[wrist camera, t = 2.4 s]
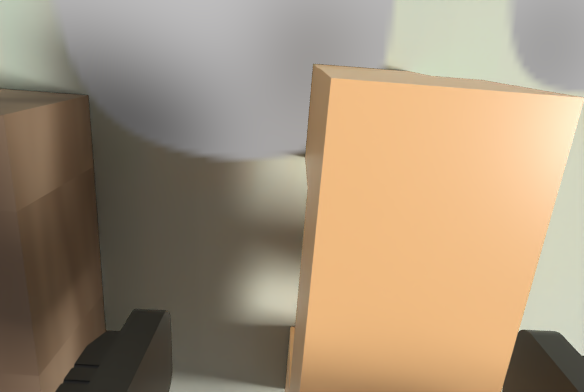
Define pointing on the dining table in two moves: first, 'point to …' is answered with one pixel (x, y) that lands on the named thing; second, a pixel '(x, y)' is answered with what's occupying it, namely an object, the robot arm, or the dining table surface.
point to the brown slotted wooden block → (46, 239)
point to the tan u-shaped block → (421, 228)
